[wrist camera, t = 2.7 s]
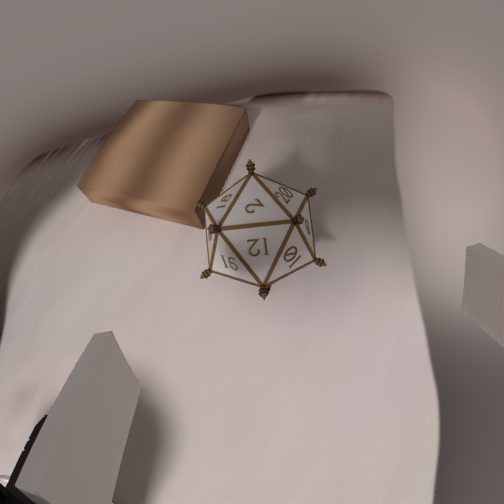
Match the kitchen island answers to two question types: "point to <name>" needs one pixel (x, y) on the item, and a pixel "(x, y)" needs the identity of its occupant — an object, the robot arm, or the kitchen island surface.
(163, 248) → the kitchen island surface
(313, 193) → the game die
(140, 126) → the pedestal
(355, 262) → the kitchen island surface
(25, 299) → the kitchen island surface
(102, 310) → the kitchen island surface
